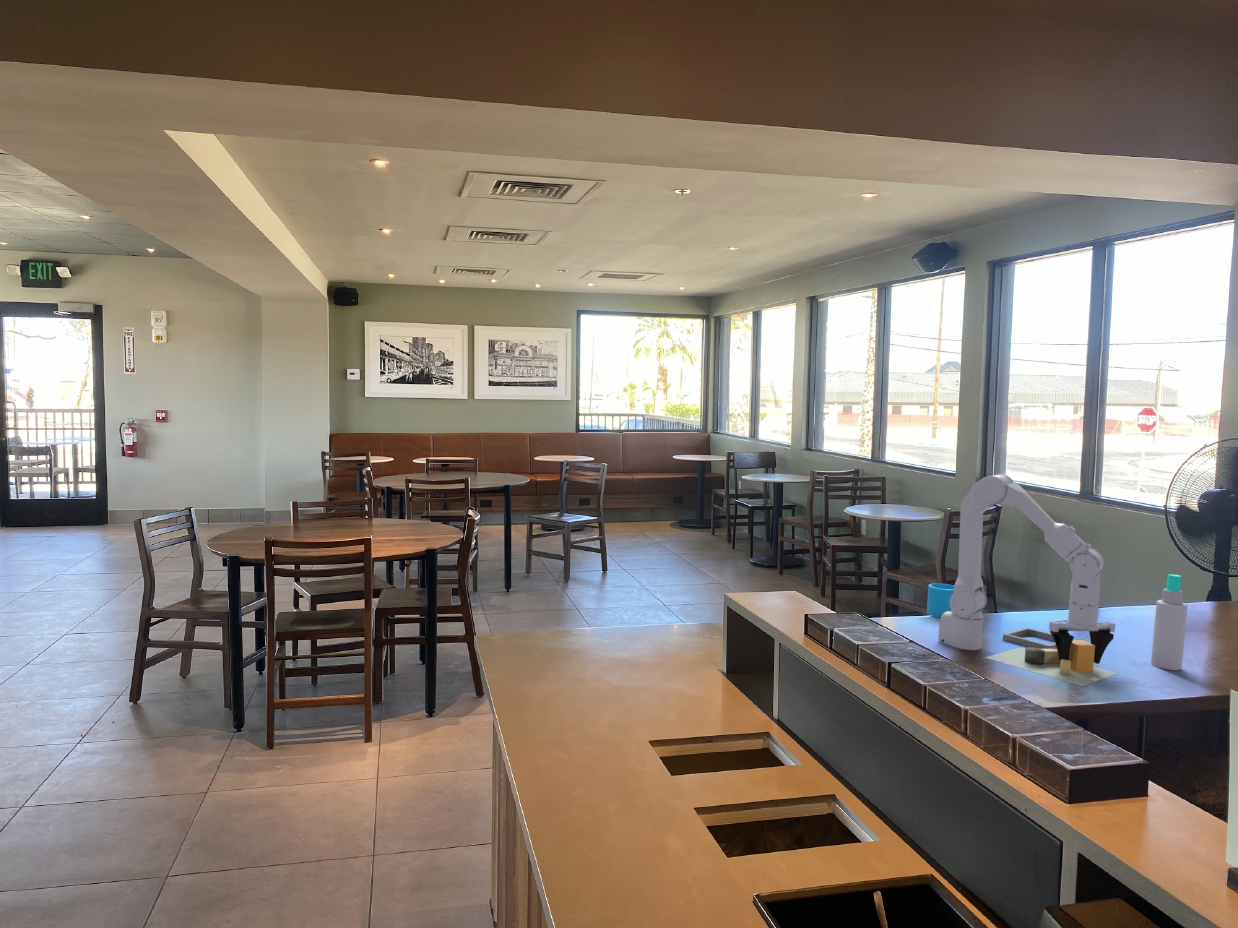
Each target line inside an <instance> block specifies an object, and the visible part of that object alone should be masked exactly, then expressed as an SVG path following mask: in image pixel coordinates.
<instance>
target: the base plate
mask: <svg viewBox="0 0 1238 928" xmlns="http://www.w3.org/2000/svg"><path fill="white" fill-rule="evenodd" d="M1025 649H1026V647H1021V646H1020V647H1017V648H1013V649H1009V650H1006V651H1002V652H999V653H996V654H992V655H989V656H985V657H984V659H987V660H990V661H995V662H997V663H1001V664H1005V665H1008V666H1012V667H1015V668H1019V669H1021V670H1025V671H1029V672H1032V673H1036V674H1039V675H1043V676H1046V677H1049V678H1052V679H1056V680H1060V681H1062V682H1066V683H1070V684H1073V685H1076V686H1080V687H1085V686H1087V685H1090V684H1093V683H1096V682H1099V681H1102V680H1104V679H1107V678H1109V677H1112V676H1114V675H1117V674H1118V672H1113V671H1109V670H1106V669H1102V668H1099V667H1095V666H1093V672H1076V671H1074V670H1072V669H1070V668H1071V661H1069V660H1064V659H1062V660H1061V663H1044V664H1042V665H1036V664H1030V663H1027V662H1025Z"/></svg>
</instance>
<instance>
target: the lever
mask: <svg viewBox="0 0 1238 928" xmlns="http://www.w3.org/2000/svg"><path fill="white" fill-rule="evenodd" d="M1025 662H1027V663H1030V664H1036V665H1042V664H1044V663H1061V662H1060V661H1059V656H1058V651H1057V649H1039V648H1032V647H1025Z"/></svg>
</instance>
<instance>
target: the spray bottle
mask: <svg viewBox="0 0 1238 928" xmlns="http://www.w3.org/2000/svg"><path fill="white" fill-rule="evenodd" d="M1181 578H1182V576H1181V575H1180V574H1172V573H1170V574H1169V573H1168V574H1167V581H1166V582H1167V583H1166V587H1165V588H1163V589H1162V596H1161V599H1158V600H1156V603H1155V605H1156V606H1155V615H1154V627H1153V628H1154V629H1153V638H1152V647H1151V648H1152V650H1151V658H1150V661H1151V662H1150V663H1151V665H1152V666H1153V667H1155V668H1157V669H1161V670H1165V671H1166V670H1167V671H1175V672H1176V671H1180V670H1182V667H1183V659H1184V658H1183V657H1184V648H1185V647H1184V646H1185V636H1186V635H1185V634H1186V624H1187V614H1188V604H1186V603H1185V602H1183V599H1184V598H1183V597H1184V592H1183V590H1181V580H1182V579H1181Z"/></svg>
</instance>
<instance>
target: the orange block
mask: <svg viewBox="0 0 1238 928" xmlns="http://www.w3.org/2000/svg"><path fill="white" fill-rule="evenodd" d="M1094 652H1095V645H1093V644H1091V642H1088V641H1085V640H1084V639H1080V640H1079V639H1073V641H1072V644H1071V647H1070V653H1069V661H1071V668H1070V669H1072V670H1074V671H1076V672H1093V667H1094Z"/></svg>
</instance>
